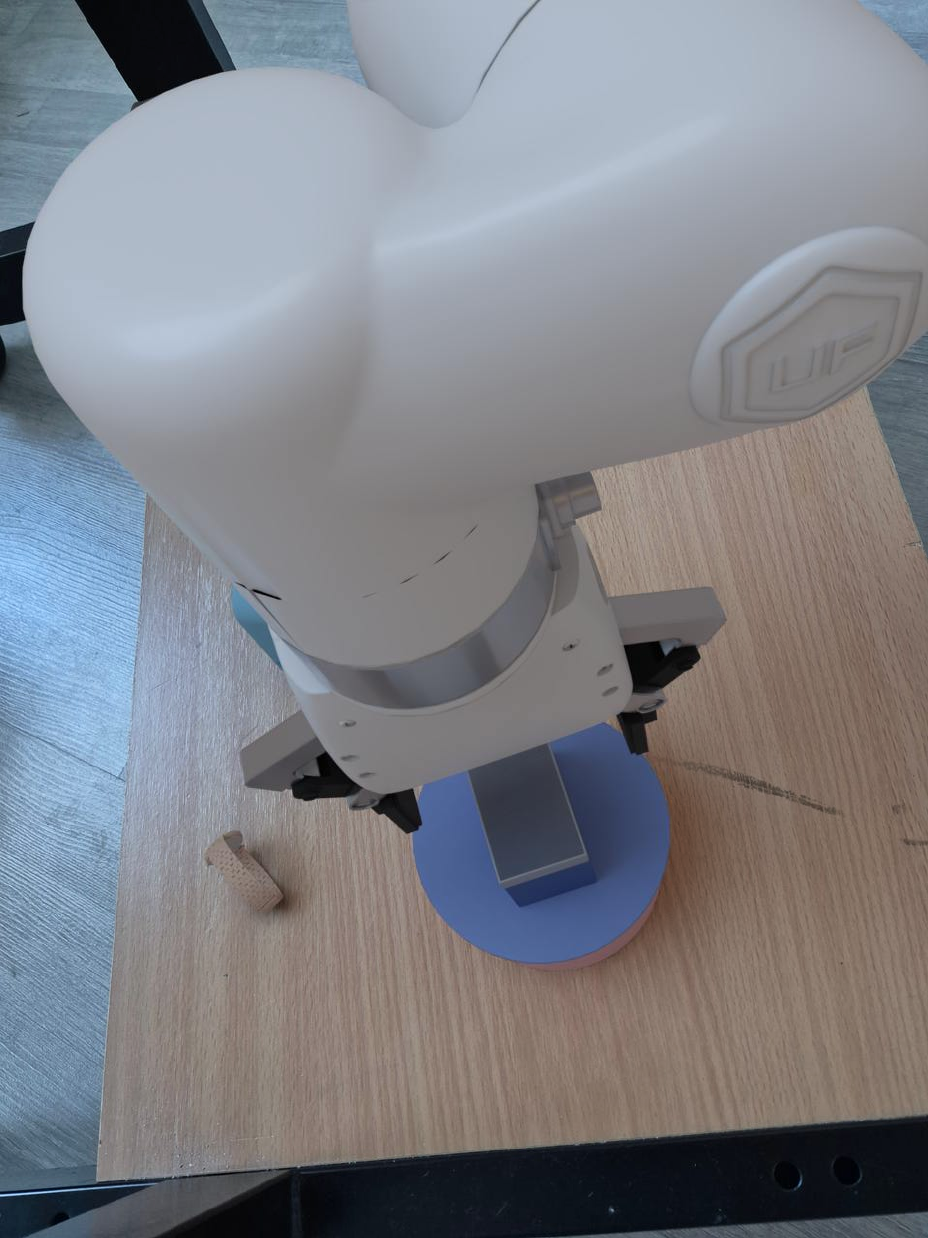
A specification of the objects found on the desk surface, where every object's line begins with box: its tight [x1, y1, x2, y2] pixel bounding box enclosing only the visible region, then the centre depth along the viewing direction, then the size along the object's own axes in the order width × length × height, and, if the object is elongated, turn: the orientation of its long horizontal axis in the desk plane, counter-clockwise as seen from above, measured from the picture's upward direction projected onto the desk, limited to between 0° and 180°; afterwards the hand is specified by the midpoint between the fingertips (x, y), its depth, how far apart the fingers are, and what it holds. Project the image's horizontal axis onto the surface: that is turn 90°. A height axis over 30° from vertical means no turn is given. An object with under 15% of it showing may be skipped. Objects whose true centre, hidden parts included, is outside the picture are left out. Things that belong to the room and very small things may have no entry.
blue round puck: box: [411, 721, 671, 972], centre depth 54 cm, size 13×13×7 cm
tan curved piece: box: [203, 829, 284, 915], centre depth 57 cm, size 3×5×5 cm, turn 43°
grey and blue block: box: [466, 742, 597, 907], centre depth 48 cm, size 4×7×6 cm, turn 15°
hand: (516, 759), depth 41 cm, fingers open, 9 cm apart
